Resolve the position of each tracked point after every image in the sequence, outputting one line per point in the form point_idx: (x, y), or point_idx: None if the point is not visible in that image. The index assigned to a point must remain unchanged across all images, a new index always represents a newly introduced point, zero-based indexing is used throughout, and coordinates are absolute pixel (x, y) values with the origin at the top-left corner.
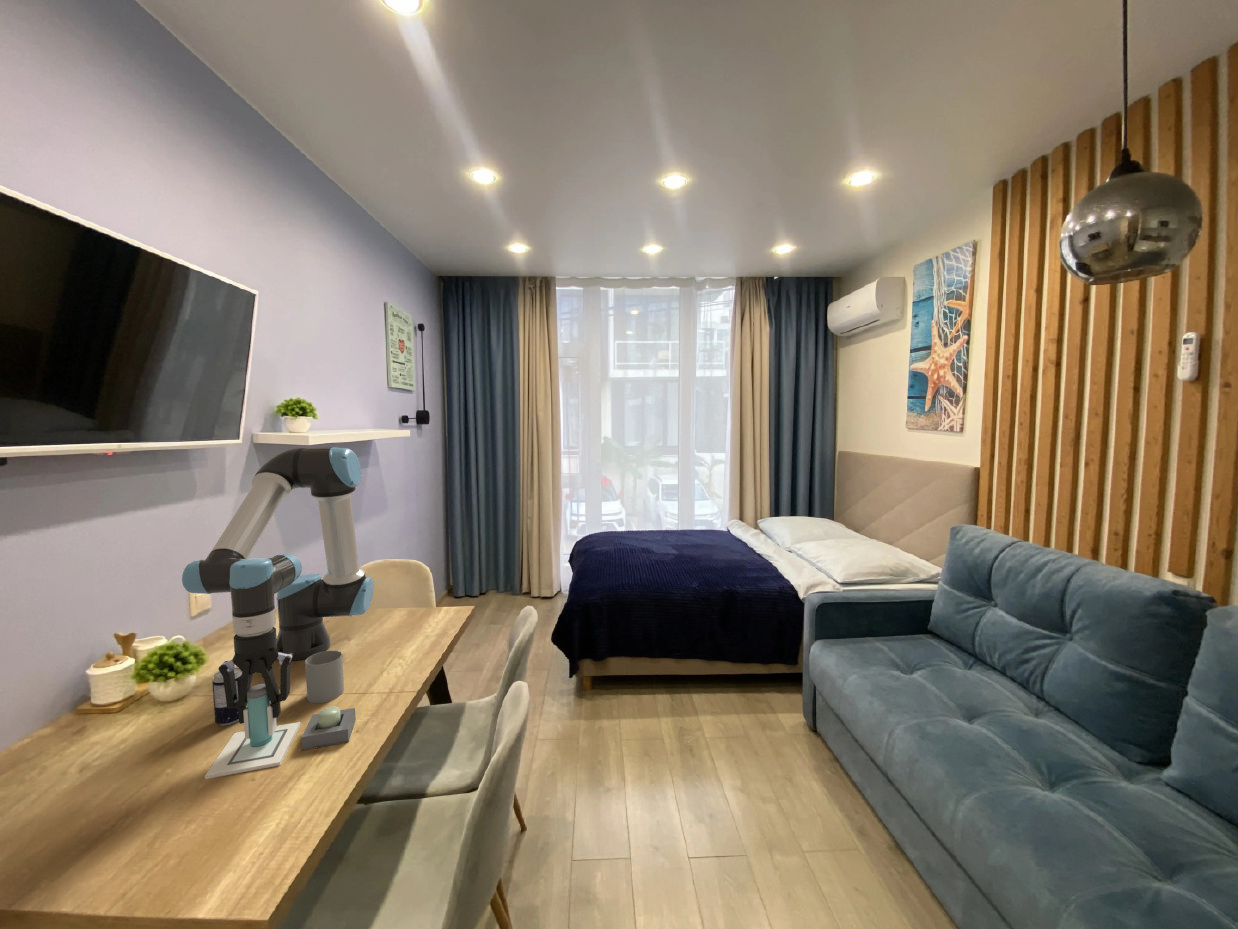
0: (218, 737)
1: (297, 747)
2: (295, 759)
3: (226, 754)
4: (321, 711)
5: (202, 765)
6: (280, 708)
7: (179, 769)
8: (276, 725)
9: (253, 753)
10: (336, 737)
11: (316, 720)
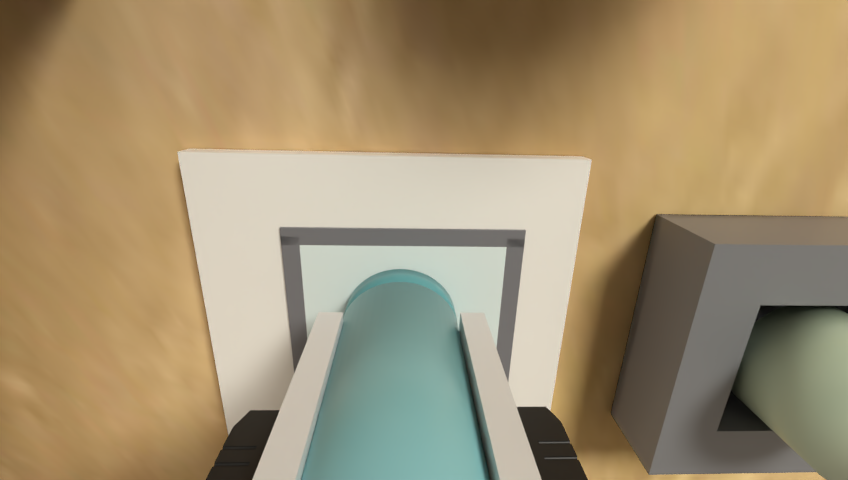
0: (76, 127)
1: (586, 382)
2: (586, 461)
3: (254, 379)
4: (841, 409)
5: (168, 391)
6: (574, 453)
7: (67, 390)
8: (488, 325)
9: None
10: None
11: (737, 332)
